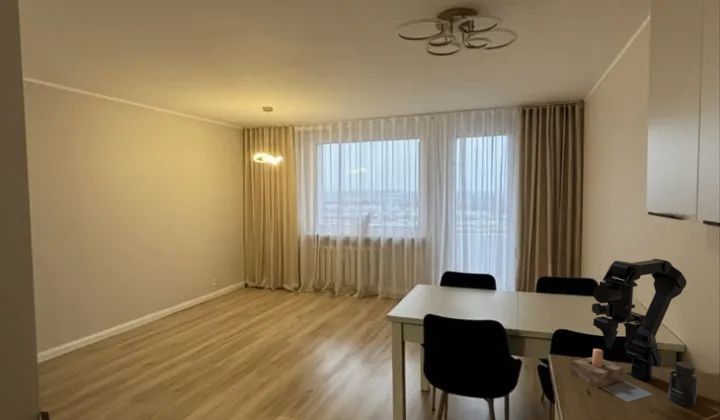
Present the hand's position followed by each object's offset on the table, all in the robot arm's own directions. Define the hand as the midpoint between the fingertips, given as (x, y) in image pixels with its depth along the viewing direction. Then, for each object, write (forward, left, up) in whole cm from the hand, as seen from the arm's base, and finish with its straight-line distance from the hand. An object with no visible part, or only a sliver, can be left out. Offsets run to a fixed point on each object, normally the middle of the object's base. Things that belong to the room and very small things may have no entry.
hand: (618, 346), depth 139 cm
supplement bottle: (-8, +16, -13) cm, 22 cm away
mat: (+2, +5, -13) cm, 14 cm away
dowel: (+3, -5, -13) cm, 14 cm away
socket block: (+3, -5, -13) cm, 14 cm away
